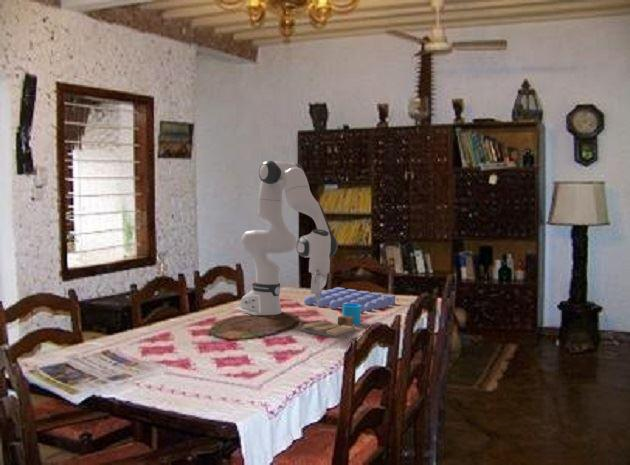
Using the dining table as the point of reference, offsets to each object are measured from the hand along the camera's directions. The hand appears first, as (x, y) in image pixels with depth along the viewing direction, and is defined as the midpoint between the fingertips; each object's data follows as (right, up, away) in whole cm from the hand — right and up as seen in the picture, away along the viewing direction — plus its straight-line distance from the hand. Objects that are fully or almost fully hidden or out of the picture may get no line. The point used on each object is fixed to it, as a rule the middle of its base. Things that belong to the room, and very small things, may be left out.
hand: (317, 300), depth 296 cm
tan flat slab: (+2, -12, 0) cm, 12 cm away
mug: (+16, -12, +18) cm, 27 cm away
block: (+12, -13, +6) cm, 19 cm away
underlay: (+4, -13, -2) cm, 14 cm away
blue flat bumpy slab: (+16, -9, +58) cm, 61 cm away
